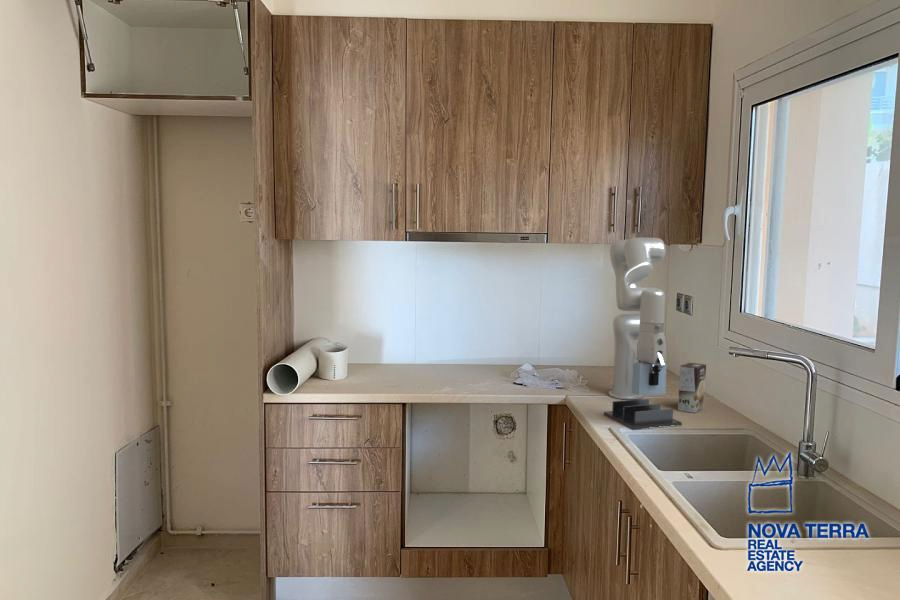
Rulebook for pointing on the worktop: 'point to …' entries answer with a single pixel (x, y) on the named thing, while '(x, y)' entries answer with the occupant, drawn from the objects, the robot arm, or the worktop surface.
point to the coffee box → (692, 387)
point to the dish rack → (641, 414)
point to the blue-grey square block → (647, 380)
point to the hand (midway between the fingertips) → (649, 383)
